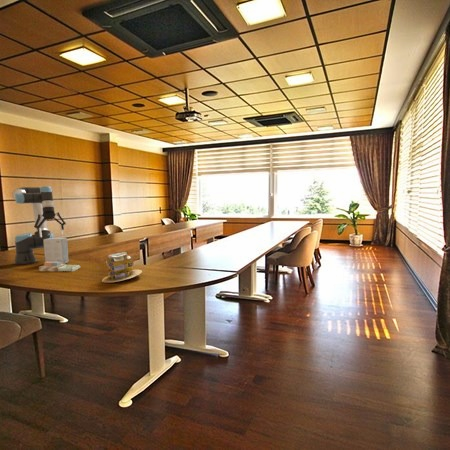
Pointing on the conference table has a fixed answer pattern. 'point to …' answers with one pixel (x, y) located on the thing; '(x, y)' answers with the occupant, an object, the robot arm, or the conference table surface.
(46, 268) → the board
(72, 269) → the tray
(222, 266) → the conference table surface
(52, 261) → the terracotta tile
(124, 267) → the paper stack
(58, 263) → the slate tile
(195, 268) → the conference table surface
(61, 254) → the hard drive box
